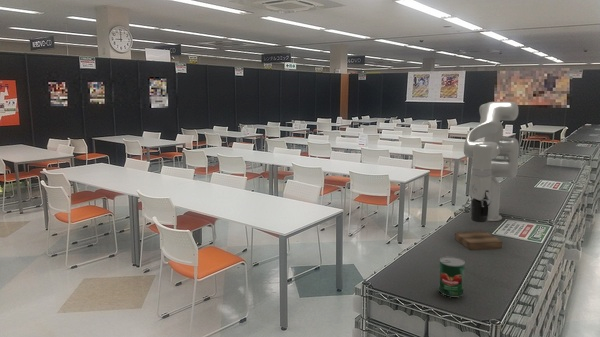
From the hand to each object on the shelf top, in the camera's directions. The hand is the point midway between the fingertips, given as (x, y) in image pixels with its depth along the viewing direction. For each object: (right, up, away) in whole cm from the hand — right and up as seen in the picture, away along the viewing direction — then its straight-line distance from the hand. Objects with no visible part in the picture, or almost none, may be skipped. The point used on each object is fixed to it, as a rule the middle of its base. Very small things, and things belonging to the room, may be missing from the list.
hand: (479, 213), depth 180 cm
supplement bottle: (0, -3, +1) cm, 3 cm away
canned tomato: (-27, -22, -42) cm, 55 cm away
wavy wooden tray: (0, -14, +2) cm, 14 cm away
